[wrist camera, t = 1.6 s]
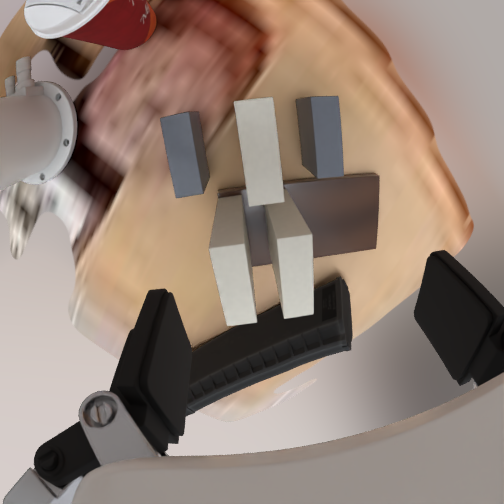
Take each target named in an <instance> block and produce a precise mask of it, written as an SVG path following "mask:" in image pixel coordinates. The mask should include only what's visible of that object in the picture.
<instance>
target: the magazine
mask: <svg viewBox="0 0 504 504" xmlns="http://www.w3.org/2000/svg"><path fill="white" fill-rule="evenodd" d="M352 336H353V335H352V318H351V304H350V293H349V291H348V286H347V285H346V283H345V281H344V279H342V278H341V276H340V277H337V279H336V280H334V281H332V282H330V283H328V284H325V285H323V286H321V287H319V288H317V289H315V290H314V314H312V315H306V316H299V317H293V318H286V319H284V317H283V312H282V307H281V305H279V306H277V307H275V308H273V309H270V310H268V311H266V312H264V313H262V314H260V315H258V316H257V323H250V324H242V325H238V326H236V327H234V328H232V329H231V330H229V331H227V332H225V333H223V334H221V335H220V336H218V337H216V338H214V339H213V340H211V341H209V342H208V343H206V344H204V345H203V346H201V347H200V348H198V349H196V350H195V351H193V352H192V362H191V370H190V379H189V388H188V397H187V407H186V416H188V415H190V414H193V413H195V411H197V410H199V409H201V408H203V407H205V406H207V405H209V404H211V403H213V402H215V401H217V400H219V399H221V398H223V397H226V396H228V395H230V394H232V393H235V392H237V391H239V390H241V389H244V388H246V387H248V386H251V385H253V384H255V383H258V382H260V381H263V380H266V379H268V378H271V377H273V376H276V375H279V374H281V373H284V372H286V371H288V370H291V369H293V368H295V367H298V366H300V365H303V364H306V363H308V362H311V361H314V360H317V359H320V358H323V357H325V356H329V355H332V354H336V353H339V352H342V351H349V350H351V341H352Z"/></svg>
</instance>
